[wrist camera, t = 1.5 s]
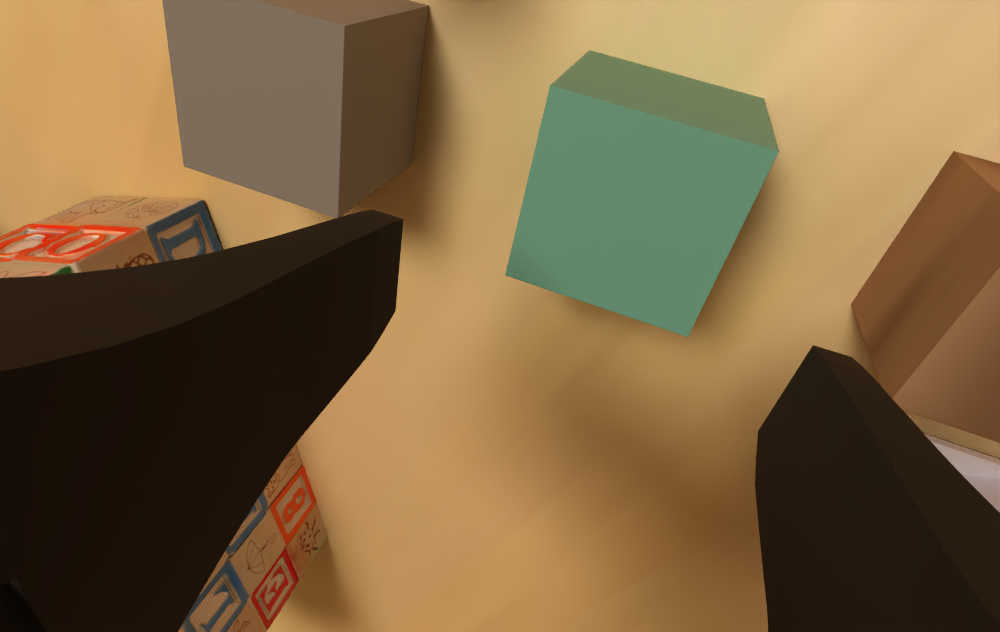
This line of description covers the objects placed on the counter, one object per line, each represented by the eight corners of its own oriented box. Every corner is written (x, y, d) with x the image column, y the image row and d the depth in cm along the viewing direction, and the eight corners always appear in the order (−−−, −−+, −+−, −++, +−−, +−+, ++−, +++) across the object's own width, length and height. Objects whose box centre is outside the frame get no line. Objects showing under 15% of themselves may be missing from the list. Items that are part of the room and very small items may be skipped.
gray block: (430, 5, 18) (344, 25, 14) (412, 163, 20) (337, 218, 16) (282, -36, 18) (158, -28, 14) (285, 123, 21) (183, 166, 17)
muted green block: (763, 98, 16) (779, 151, 12) (694, 252, 19) (687, 337, 15) (590, 49, 17) (550, 85, 13) (548, 206, 20) (505, 275, 16)
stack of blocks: (94, 192, 26) (-290, 348, 16) (208, 194, 24) (-148, 374, 14) (245, 518, 37) (73, 730, 27) (331, 538, 35) (180, 773, 25)
